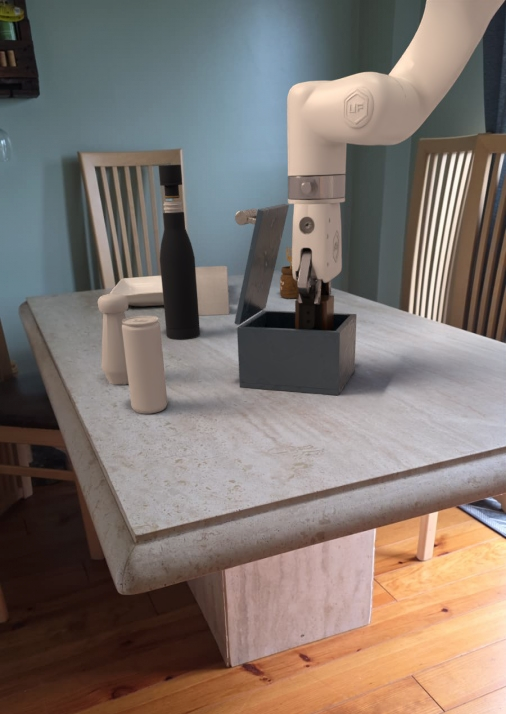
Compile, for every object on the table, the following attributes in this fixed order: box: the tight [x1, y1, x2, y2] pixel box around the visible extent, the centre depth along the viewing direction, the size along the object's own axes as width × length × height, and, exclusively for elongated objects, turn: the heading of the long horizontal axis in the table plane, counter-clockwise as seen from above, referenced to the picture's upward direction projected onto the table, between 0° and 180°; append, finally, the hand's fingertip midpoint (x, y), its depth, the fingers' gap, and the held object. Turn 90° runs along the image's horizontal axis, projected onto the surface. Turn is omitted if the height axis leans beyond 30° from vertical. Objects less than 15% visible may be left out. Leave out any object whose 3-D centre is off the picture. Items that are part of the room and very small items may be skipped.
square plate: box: [109, 275, 164, 307], centre depth 156 cm, size 27×27×4 cm
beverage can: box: [122, 315, 168, 415], centre depth 81 cm, size 5×5×12 cm
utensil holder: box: [279, 247, 299, 300], centre depth 150 cm, size 6×6×12 cm
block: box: [294, 294, 335, 331], centre depth 88 cm, size 4×4×4 cm
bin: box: [236, 309, 357, 396], centre depth 91 cm, size 15×12×9 cm
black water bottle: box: [158, 164, 201, 340], centre depth 114 cm, size 6×6×30 cm
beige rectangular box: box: [195, 265, 230, 316], centre depth 136 cm, size 4×7×10 cm, turn 90°
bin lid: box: [234, 203, 290, 326], centre depth 88 cm, size 15×12×5 cm
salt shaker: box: [97, 293, 129, 386], centre depth 93 cm, size 6×6×13 cm
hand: (315, 327), depth 89 cm, fingers closed on block, 4 cm apart
